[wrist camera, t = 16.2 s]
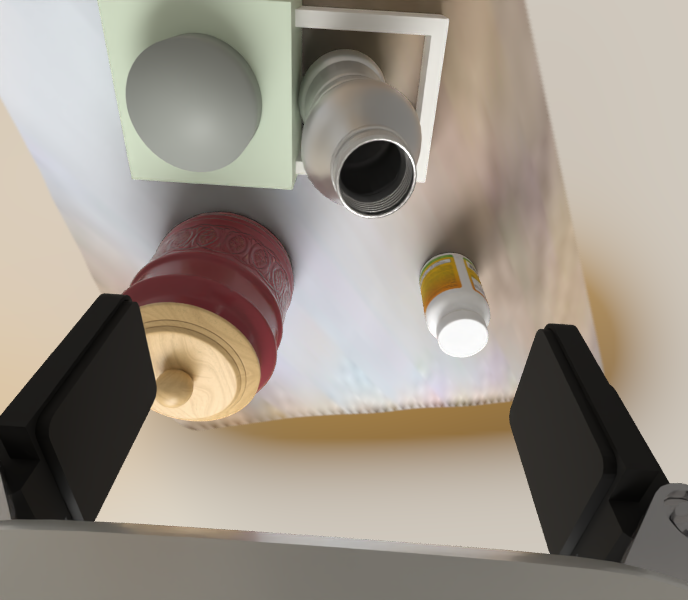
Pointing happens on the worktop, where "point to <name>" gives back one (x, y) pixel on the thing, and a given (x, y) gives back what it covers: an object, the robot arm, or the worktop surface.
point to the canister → (213, 313)
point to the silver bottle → (358, 135)
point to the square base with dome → (234, 84)
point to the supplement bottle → (455, 304)
